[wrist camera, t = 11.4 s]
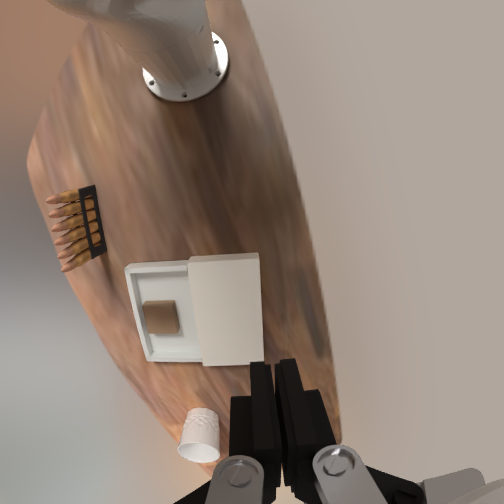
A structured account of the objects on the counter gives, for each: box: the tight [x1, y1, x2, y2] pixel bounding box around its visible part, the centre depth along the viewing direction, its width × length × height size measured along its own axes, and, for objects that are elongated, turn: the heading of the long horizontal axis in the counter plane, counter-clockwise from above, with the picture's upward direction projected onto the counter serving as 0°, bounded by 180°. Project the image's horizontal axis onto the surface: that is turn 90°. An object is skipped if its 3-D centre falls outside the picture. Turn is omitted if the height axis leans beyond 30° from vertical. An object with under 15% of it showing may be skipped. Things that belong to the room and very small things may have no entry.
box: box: [124, 260, 202, 362], centre depth 43 cm, size 17×10×2 cm, turn 3°
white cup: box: [178, 407, 220, 463], centre depth 47 cm, size 8×8×10 cm
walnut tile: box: [142, 300, 180, 334], centre depth 43 cm, size 5×5×2 cm
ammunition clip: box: [46, 185, 107, 272], centre depth 34 cm, size 11×2×12 cm, turn 7°
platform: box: [187, 252, 264, 366], centre depth 43 cm, size 18×10×3 cm, turn 3°
